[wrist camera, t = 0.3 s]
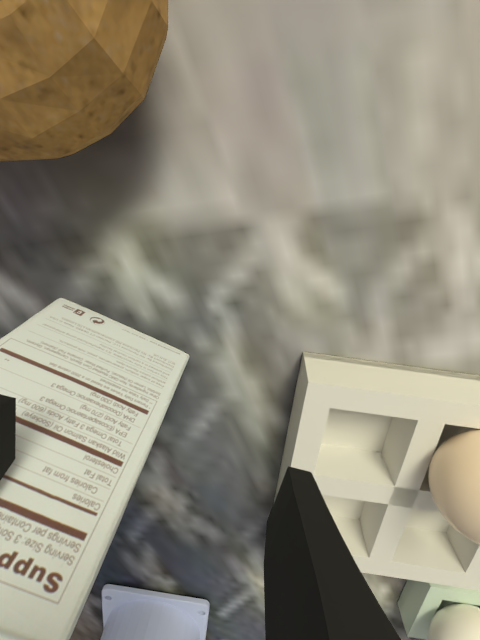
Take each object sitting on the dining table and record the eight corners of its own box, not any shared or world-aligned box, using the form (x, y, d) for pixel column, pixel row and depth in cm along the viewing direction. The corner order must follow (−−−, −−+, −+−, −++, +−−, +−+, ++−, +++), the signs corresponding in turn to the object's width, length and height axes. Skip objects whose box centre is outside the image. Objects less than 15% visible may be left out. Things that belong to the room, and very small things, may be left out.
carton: (454, 540, 23) (480, 590, 20) (271, 512, 23) (271, 558, 21) (529, 382, 19) (574, 418, 16) (302, 351, 19) (308, 381, 16)
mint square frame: (469, 614, 25) (485, 649, 23) (397, 603, 26) (407, 636, 24) (496, 566, 23) (515, 599, 22) (418, 554, 24) (430, 586, 22)
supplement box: (151, 443, 22) (12, 759, 11) (34, 394, 21) (-244, 678, 10) (196, 352, 19) (62, 671, 8) (59, 290, 18) (-312, 540, 7)
